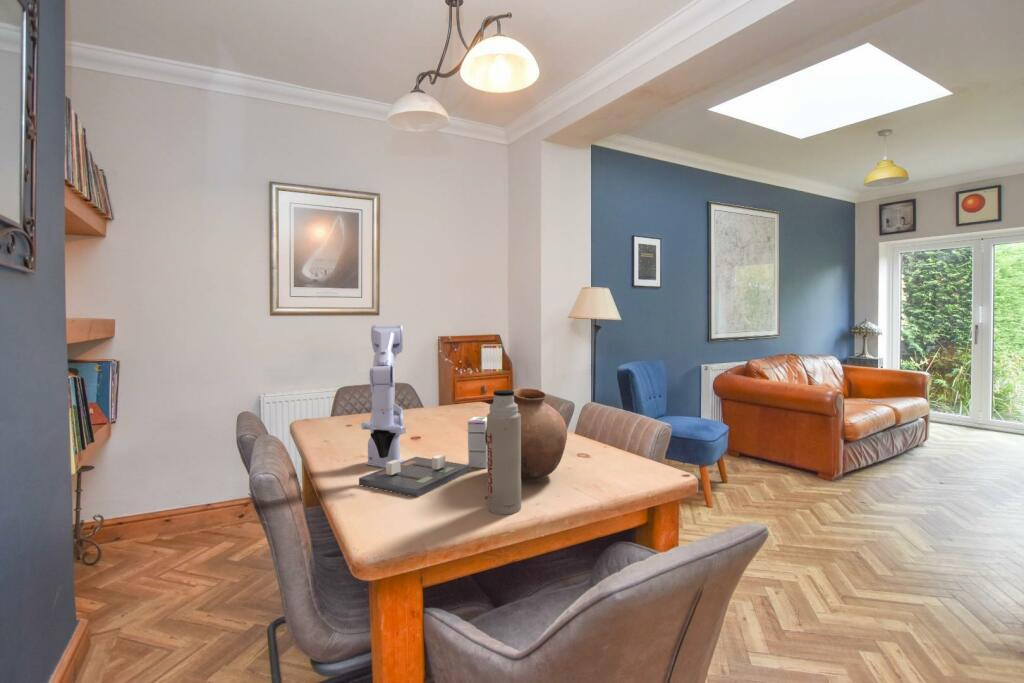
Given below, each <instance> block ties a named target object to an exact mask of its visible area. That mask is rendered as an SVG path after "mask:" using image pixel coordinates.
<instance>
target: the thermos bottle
mask: <svg viewBox="0 0 1024 683" xmlns="http://www.w3.org/2000/svg"><path fill="white" fill-rule="evenodd" d="M512 390H513V389H512ZM512 390H511V389H499V390H498V389H497V390H494V391H493V402H492V403H491V404H490V405H489V413H487V414H486V417H487V468H486V469H487V476H486V477H487V510H488V511H489V512H490V513H493V514H497V515H511V514H515V513H518V512H519V510H520V511H521V509H522V480H521V414H519V413H518V405H517V404H516V403H514V396H513V395H514V391H512Z"/></svg>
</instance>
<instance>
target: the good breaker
mask: <svg viewBox="0 0 1024 683" xmlns="http://www.w3.org/2000/svg"><path fill="white" fill-rule="evenodd" d="M431 459H432V468H433V469H440V468H442V467H444V466H445V461H446V455H444V454H438V455H435V456H433V457H432V458H431Z"/></svg>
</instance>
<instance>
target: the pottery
mask: <svg viewBox="0 0 1024 683" xmlns="http://www.w3.org/2000/svg"><path fill="white" fill-rule="evenodd" d="M512 391H514V395H513V396H514V403H516V404H517V405H518V413H519V414H521V481H535V480H536V481H537V480H540V479H543V478H546V477H548V476H549V475H551V474H552V473H553V472H554V471H555V470H556V469H557V468H558V466H559V465H560V463H561V461H562V458H563V455H564V451H565V449H566V444H567V439H568V428H567V424H566V421H565V419H564V418H563V416H562V415H561V414H560V413H559V412H558V411H557V410H556V409H555V408H554V407H552V405H549V404H548V403H546V402H544V400H545V399H546V398H547V394H546V393H545V392H544V391H542V390H539V389H535V388H529V387H528V388H524V387H523V388H522V387H521V388H515V389H512ZM485 440H486V444H487V428H486V433H485Z"/></svg>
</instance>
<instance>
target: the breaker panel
mask: <svg viewBox="0 0 1024 683" xmlns="http://www.w3.org/2000/svg"><path fill="white" fill-rule="evenodd" d="M400 468H401V472H398V473H395V474H393V475H389V474H386V468H381V469H378V470H377V471H373V472H371V473H369V474H368V473H367V474H366V475H364V476H361V477H359V478H358V485H359V486H360V485H363V486H362V487H365V486H368V487H367V488H369V487H373V488H372V489H374V488H378V489H377V490H379V489H382V490H381V491H384V490H387V491H386V492H389V491H392V492H391V493H394V492H396V493H395V494H398V493H401V494H400V495H403V494H404V495H405V496H408V495H410V497H413V496H414V498H419V497H421V496H423V495H425V494H427V493H429V492H431V490H432V491H433V489H434V490H436V489H438V488H439V487H442V486H443V485H446V484H448V483H450V482H452V481H454V480H456V479H458V478H460V477H462V476H464V475H466V473H467V474H469V473H470V471H471V467H470V465H469V464H465V463H464V464H463V463H459V462H453V461H446V460H445V466H444V467H442V468H440V469H433V468H432V458H427V457H421V456H414V457H411V458H409V459H405V461H403V462H400ZM468 472H469V473H468ZM441 485H442V486H441ZM435 488H436V489H435Z"/></svg>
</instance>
